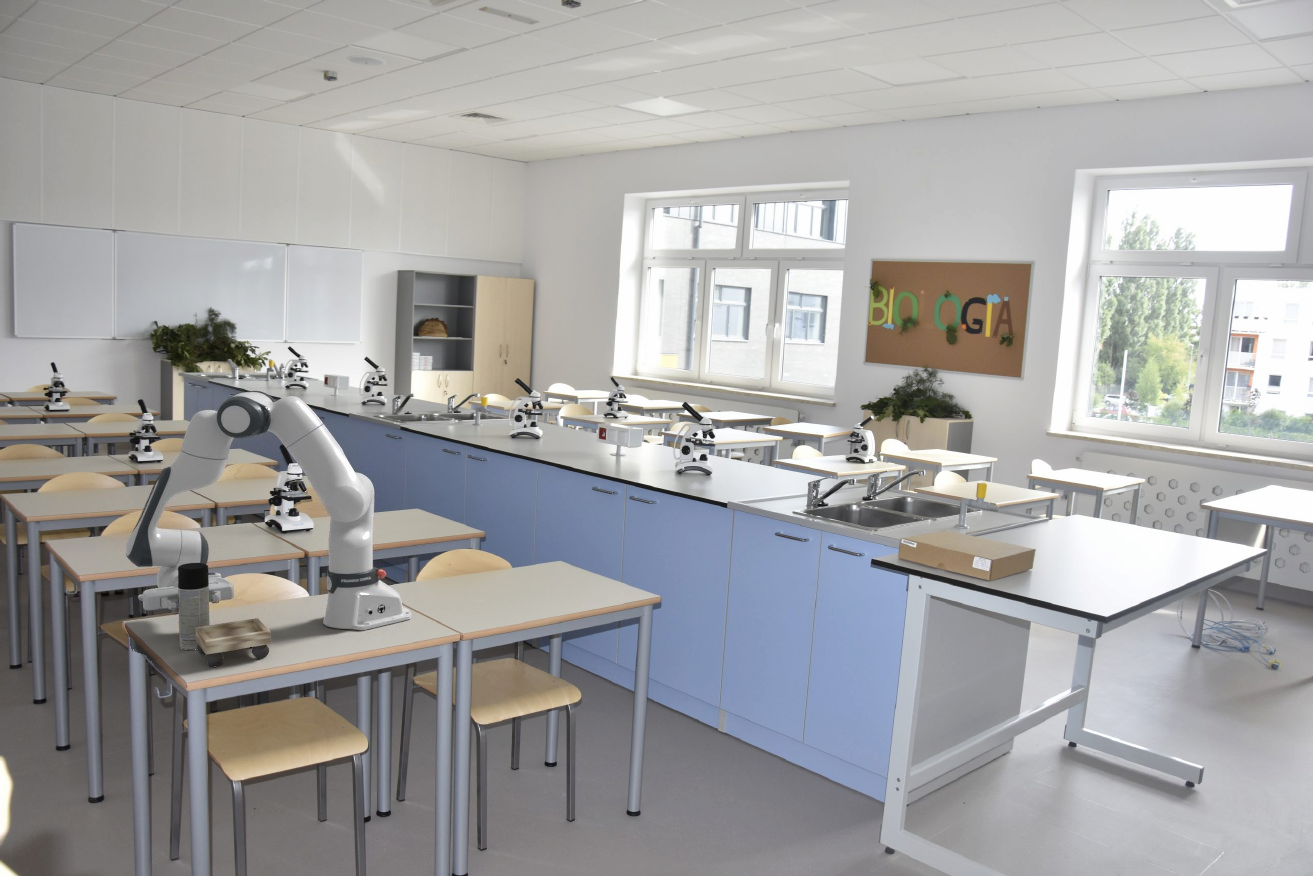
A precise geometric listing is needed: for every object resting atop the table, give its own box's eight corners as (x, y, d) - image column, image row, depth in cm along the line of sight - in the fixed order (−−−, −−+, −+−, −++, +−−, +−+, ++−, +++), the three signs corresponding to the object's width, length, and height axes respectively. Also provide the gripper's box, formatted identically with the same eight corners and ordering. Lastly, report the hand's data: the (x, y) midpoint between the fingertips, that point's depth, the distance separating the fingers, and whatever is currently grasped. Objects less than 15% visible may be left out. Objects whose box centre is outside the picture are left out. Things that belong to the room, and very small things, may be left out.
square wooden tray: (258, 643, 232) (257, 618, 231) (271, 658, 223) (270, 631, 222) (195, 654, 224) (194, 627, 223) (206, 669, 214) (205, 641, 214)
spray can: (202, 640, 234) (200, 560, 232) (215, 646, 230) (213, 565, 227) (174, 646, 229) (172, 565, 227) (187, 653, 225) (185, 570, 222)
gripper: (136, 582, 232) (145, 596, 221) (226, 571, 244) (239, 584, 233) (137, 608, 233) (146, 622, 222) (226, 595, 245) (239, 609, 234)
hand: (194, 602), depth 227 cm, fingers open, 8 cm apart
